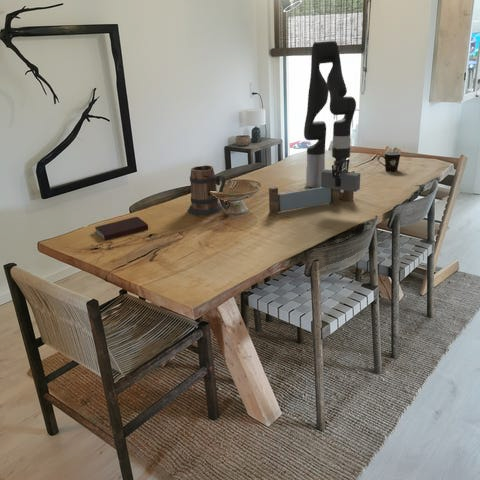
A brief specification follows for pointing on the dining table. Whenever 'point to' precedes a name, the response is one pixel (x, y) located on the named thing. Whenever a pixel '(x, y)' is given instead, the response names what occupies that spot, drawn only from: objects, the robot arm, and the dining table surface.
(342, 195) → the wooden block
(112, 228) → the book
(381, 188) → the dining table surface
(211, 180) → the tankard
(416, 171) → the dining table surface
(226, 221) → the dining table surface
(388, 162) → the coffee mug
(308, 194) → the gate leaf
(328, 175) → the block
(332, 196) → the gate frame
